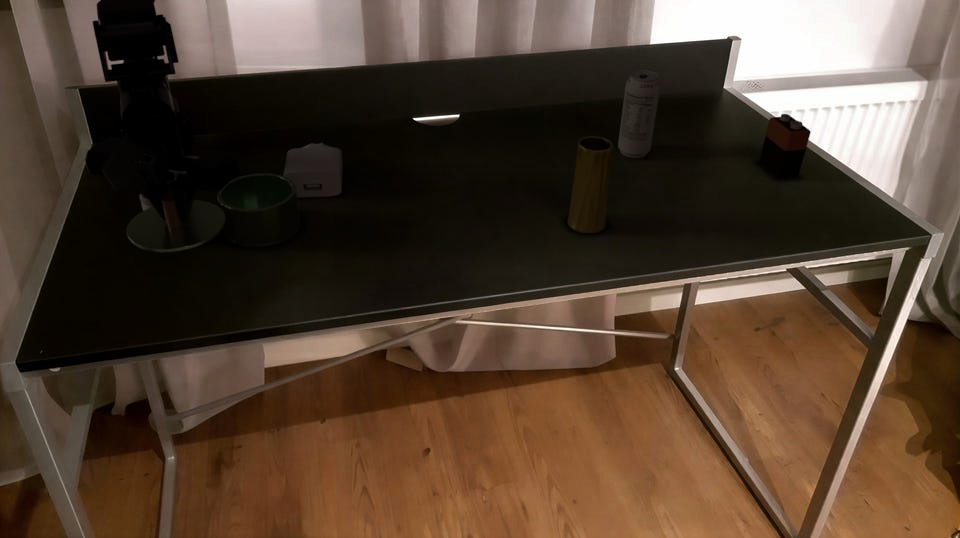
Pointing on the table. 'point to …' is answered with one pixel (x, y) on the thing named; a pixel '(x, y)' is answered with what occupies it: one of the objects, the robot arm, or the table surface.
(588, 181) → the vase
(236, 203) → the tin
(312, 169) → the charger
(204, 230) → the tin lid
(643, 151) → the energy drink can
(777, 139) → the battery
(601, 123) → the table surface
